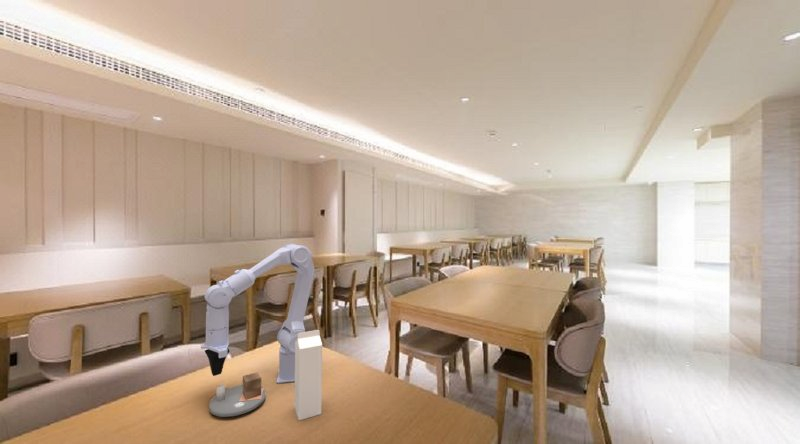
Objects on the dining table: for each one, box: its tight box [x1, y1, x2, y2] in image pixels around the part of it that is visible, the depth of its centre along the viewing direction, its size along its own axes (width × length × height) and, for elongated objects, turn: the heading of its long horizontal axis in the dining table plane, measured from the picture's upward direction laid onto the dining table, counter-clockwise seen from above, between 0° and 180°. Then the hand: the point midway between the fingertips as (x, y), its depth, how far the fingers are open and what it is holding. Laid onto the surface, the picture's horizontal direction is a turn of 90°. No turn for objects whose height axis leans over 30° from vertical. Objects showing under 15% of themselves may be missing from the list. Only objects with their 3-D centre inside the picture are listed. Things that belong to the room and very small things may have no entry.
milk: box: [293, 329, 323, 421], centre depth 85 cm, size 6×6×22 cm
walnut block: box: [242, 371, 262, 400], centre depth 89 cm, size 4×4×5 cm
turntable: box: [208, 383, 266, 418], centre depth 88 cm, size 14×14×5 cm
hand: (216, 374), depth 90 cm, fingers closed
